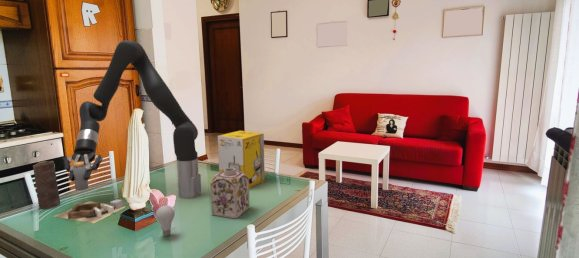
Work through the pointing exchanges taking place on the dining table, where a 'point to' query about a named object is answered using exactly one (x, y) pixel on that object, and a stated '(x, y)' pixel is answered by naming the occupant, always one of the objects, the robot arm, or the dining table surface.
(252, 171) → the packaging box
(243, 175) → the decorative jar
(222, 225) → the dining table surface
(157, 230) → the dining table surface
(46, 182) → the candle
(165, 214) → the lightbulb
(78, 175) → the connector
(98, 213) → the cable route
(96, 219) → the board
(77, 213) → the holder
